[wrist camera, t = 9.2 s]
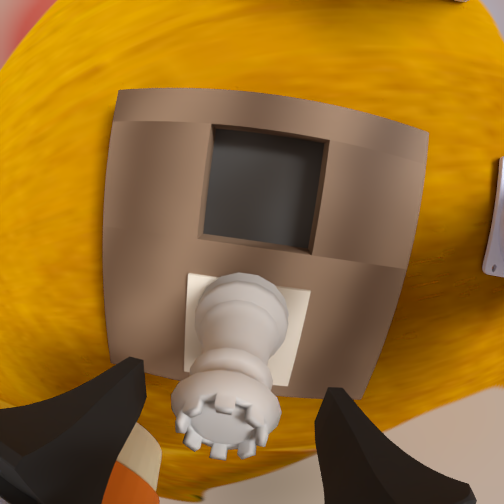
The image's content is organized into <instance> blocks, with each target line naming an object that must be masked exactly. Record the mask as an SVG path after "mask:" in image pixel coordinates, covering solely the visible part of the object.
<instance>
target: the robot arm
mask: <svg viewBox="0 0 504 504" xmlns="http://www.w3.org/2000/svg"><path fill="white" fill-rule="evenodd" d="M492 267H493V268H492ZM482 270H483V272H484V273H486V274H488V275H493V276H499V277H504V156H503V157H501V158H500V161H499V173H498V183H497V192H496V200H495V207H494V213H493V219H492V225H491V230H490V235H489V240H488V245H487V249H486V253H485V258H484V262H483V266H482ZM146 397H147V395H146V385H145V374H144V361H143V360H142V359H138V358H134V357H130V356H129V357H128V358H126V359H124V360H123V361H121V362H119V363H118V364H116V365H115V366H113V367H112V368H110V369H108V370H107V371H105V372H104V373H102V374H100V375H99V376H97V377H95V378H94V379H92V380H90V381H88V382H86V383H84V384H82V385H80V386H79V387H77V388H75V389H73V390H71V391H68V392H66V393H64V394H61V395H59V396H56V397H53V398H51V399H48V400H44V401H41V402H37V403H33V404H30V405H25V406H20V407H13V408H6V409H0V504H101V503H102V500H103V496H104V493H105V490H106V487H107V484H108V481H109V478H110V475H111V472H112V470H113V467H114V464H115V462H116V460H117V458H118V455H119V453H120V452H121V450H122V448H123V446H124V444H125V442H126V440H127V439H128V437H129V435H130V433H131V431H132V429H133V428H134V426H135V424H136V422H137V420H138V418H139V416H140V414H141V411H142V408H143V406H144V403H145V400H146ZM315 443H316V449H317V454H318V460H319V465H320V471H321V476H322V482H323V487H324V497H325V498H324V499H325V504H476V501H477V500H476V498H475V496H474V494H473V492H472V490H471V488H470V486H469V484H467V483H464V482H461V481H458V480H455V479H453V478H449V477H447V476H445V475H443V474H440V473H438V472H436V471H434V470H432V469H430V468H429V467H427V466H425V465H423V464H422V463H420V462H418V461H417V460H415V459H414V458H412V457H411V456H409V455H408V454H406V453H405V452H404V451H403V450H401V449H400V448H399V447H398V446H396V445H395V444H394V443H393V442H392V441H390V440H389V439H388V438H387V437H386V436H385V435H384V434H383V433H382V432H381V431H380V430H379V429H378V428H377V427H376V426H375V425H374V424H373V423H372V422H371V421H370V420H369V418H368V417H367V416H366V415H365V414H364V413H363V412H362V410H361V409H360V408H359V407H358V406H357V404H356V403H355V402H354V401H353V400H352V398H351V397H350V396H349V395H348V393H347V392H346V391H345V390H344V389H343V388H339V387H328V388H327V391H326V394H325V396H324V399H323V402H322V404H321V407H320V409H319V412H318V414H317V417H316V419H315Z"/></svg>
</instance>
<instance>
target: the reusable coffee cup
mask: <svg viewBox="0 0 504 504" xmlns="http://www.w3.org/2000/svg"><path fill="white" fill-rule="evenodd" d="M161 458H162V450H161V448H160V445H159V444H158V442H157V441H156V439H155V438H154V437H153V436H152V435H151V434H150V433H149V432H148V431H147V430H146V429H145V428H144V427H142V426H141V425H140V424H138V423H137V422H136V424H135V426H134V428H133V429H132V431H131V433H130V435H129V437H128V439H127V440H126V442H125V444H124V446H123V448H122V450H121V452H120V453H119V455H118V458H117V460H116V462H115V464H114V467H113V470H112V472H111V475H110V478H109V481H108V484H107V487H106V490H105V493H104V496H103V500H102V503H101V504H159V496H158V495H157V493H156V488H157V481H158V475H159V469H160V464H161Z"/></svg>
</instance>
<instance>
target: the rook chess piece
mask: <svg viewBox="0 0 504 504" xmlns="http://www.w3.org/2000/svg"><path fill="white" fill-rule="evenodd" d="M288 316H289V313H288V309H287V305H286V301H285V298H284V297H283V295H282V294H281V293H280V291H279V290H278V289H277V288H276V286H275V285H274V284H272V283H271V282H269V281H267V280H265V279H264V278H262V277H260V276H258V275H253V274H246V273H240V272H239V273H234V274H230V275H225V276H221V277H219V278H218V279H217V280H215V281H214V282H212V283H211V284H210V285H208V286H207V287H206V289H205V290H204V292H203V294H202V295H201V297H200V299H199V301H198V306H197V308H196V311H195V331H196V333H197V336H198V339H199V341H200V344H201V345H202V354H201V355H200V356H199V357H197V358H196V359H195V361H194V363H193V364H192V366H191V367H190V375H189V377H187V378H186V379H184V380H182V381H180V382H179V383H178V385H177V386H176V388H175V389H174V391H173V393H172V394H171V407H172V411H173V412H174V414H175V416H176V417H177V418H176V421H175V426H176V432H177V433H185V436H184V440H183V444H185V445H186V446H187V447H189V448H190V449H191V450H193V451H194V452H195V451H196V450H198V449H200V446H201V443H203V444H205V445H208V446H210V447H211V452H210V457H209V458H213V459H219V460H226V457H227V450H229V449H238V454H237V455H238V456H239V457H240V458H241V459H245V458H248V457H251V456H254V455H256V445H258V446H263V447H265V445H266V442H267V439H268V434H269V433H270V432H271V431H273V430H274V429H275V428H276V427H277V426H278V422H279V419H280V416H281V413H282V412H281V408H280V405H279V402H278V398H277V397H276V396H275V395H274V394H273V393H272V392H271V389H272V385H273V379H272V375H271V372H270V369H269V368H268V367H267V364H268V360H269V359H270V357H271V356H273V355H274V354H275V353H276V351H277V350H278V349H279V348H280V346H281V345H282V344H283V342H284V340H285V337H286V332H287V328H288V324H289V323H288Z"/></svg>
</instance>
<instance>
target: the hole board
mask: <svg viewBox="0 0 504 504" xmlns="http://www.w3.org/2000/svg"><path fill="white" fill-rule="evenodd" d="M428 139H429V133H428V132H426V131H423V130H420V129H417V128H414V127H411V126H408V125H405V124H402V123H399V122H396V121H393V120H389V119H386V118H383V117H379V116H375V115H372V114H368V113H364V112H360V111H357V110H352V109H348V108H344V107H340V106H335V105H331V104H326V103H321V102H316V101H310V100H305V99H299V98H293V97H286V96H280V95H272V94H264V93H256V92H246V91H235V90H221V89H201V88H147V89H127V90H119V91H118V96H117V101H116V107H115V112H114V118H113V124H112V131H111V137H110V145H109V152H108V161H107V171H106V182H105V195H104V213H103V284H104V302H105V316H106V327H107V336H108V345H109V353H110V360H111V363H113V364H118V363H119V362H121V361H123V360H124V359H126V358H128V357H129V356H130V357H134V358H138V359H142V360H143V361H144V372H145V373H149V374H153V375H157V376H161V377H165V378H170V379H174V380H179V381H182V380H184V379H186V378H187V377H189V375H190V367H191V366H192V364H193V363H194V361H195V359H196V358H197V357H199V356H200V355H201V354H202V345H201V344H200V341H199V339H198V336H197V333H196V331H195V311H196V308H197V306H198V301H199V299H200V297H201V295H202V294H203V292H204V290H205V289H206V287H207V286H208V285H210V284H211V283H212V282H214V281H215V280H217V279H218V278H219V277H221V276H225V275H230V274H234V273H239V272H240V273H246V274H253V275H258V276H260V277H262V278H264V279H265V280H267V281H269V282H271V283H272V284H274V285H275V286H276V288H277V289H278V290H279V291H280V293H281V294H282V295H283V297H284V298H285V301H286V305H287V309H288V313H289V316H288V323H289V324H288V328H287V332H286V337H285V340H284V342H283V344H282V345H281V346H280V348H279V349H278V350H277V351H276V353H275V354H274V355H273V356H271V357H270V359H269V360H268V364H267V367H268V368H269V369H270V372H271V375H272V379H273V385H272V389H271V392H272V393H273V394H274V395H275V396H286V397H299V398H316V399H324V396H325V394H326V391H327V388H328V387H339V388H343V389H344V390H345V391H346V392H347V393H348V395H349V396H350V397H351V398H352V399H361V398H362V396H363V394H364V391H365V389H366V387H367V385H368V382H369V380H370V378H371V375H372V373H373V370H374V368H375V365H376V363H377V360H378V358H379V355H380V353H381V350H382V347H383V345H384V342H385V339H386V336H387V333H388V330H389V328H390V325H391V322H392V319H393V316H394V312H395V309H396V306H397V303H398V299H399V296H400V293H401V289H402V286H403V282H404V278H405V275H406V271H407V267H408V263H409V259H410V255H411V250H412V246H413V241H414V237H415V232H416V227H417V222H418V216H419V211H420V205H421V199H422V192H423V185H424V178H425V170H426V161H427V151H428Z"/></svg>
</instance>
